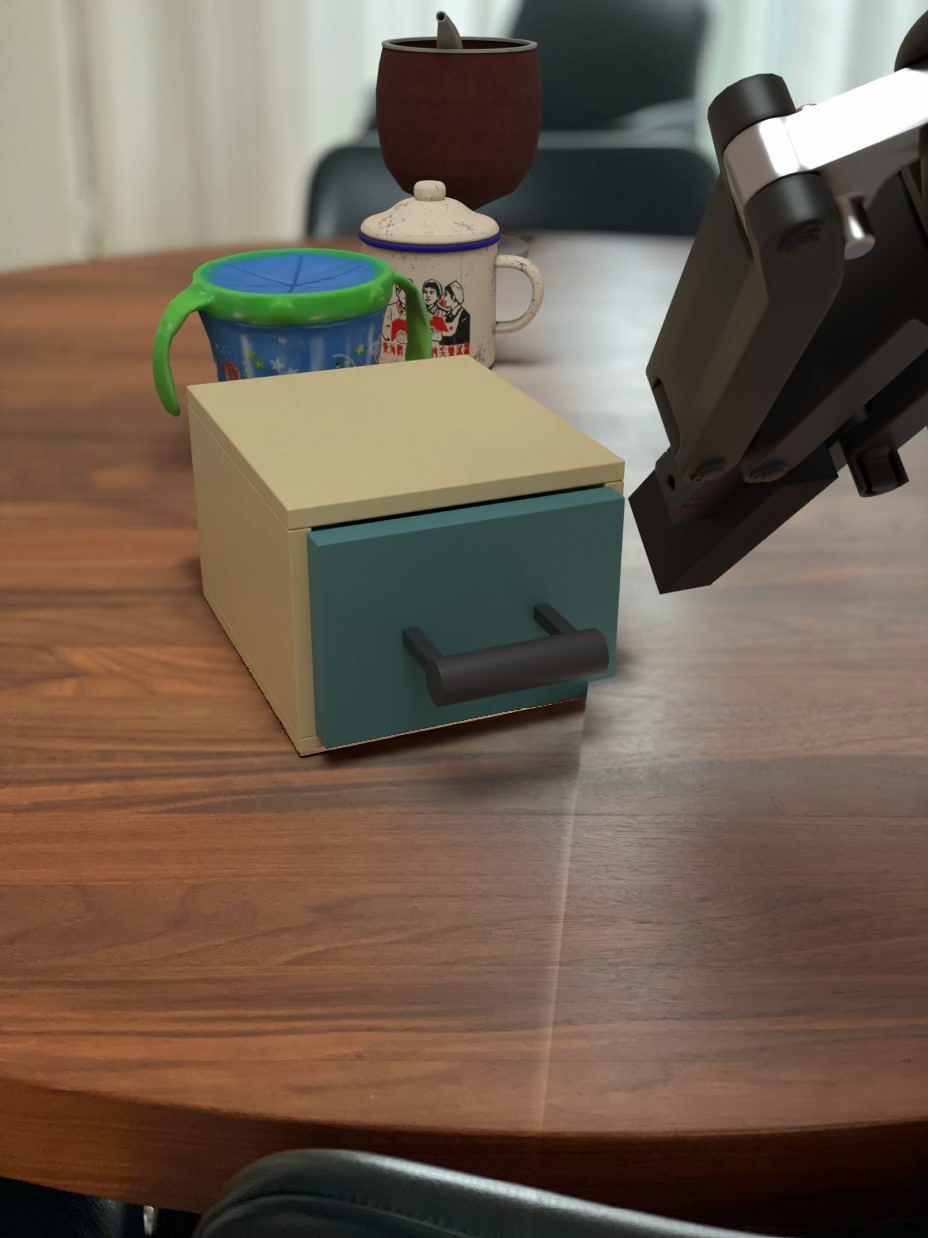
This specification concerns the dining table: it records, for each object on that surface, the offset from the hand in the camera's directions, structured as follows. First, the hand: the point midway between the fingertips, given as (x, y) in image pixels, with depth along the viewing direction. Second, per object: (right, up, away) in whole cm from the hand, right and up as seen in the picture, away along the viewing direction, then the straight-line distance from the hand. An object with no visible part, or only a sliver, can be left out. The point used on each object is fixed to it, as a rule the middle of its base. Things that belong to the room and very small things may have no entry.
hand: (669, 541), depth 37 cm
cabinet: (-8, -3, +23) cm, 24 cm away
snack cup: (-14, +7, +43) cm, 46 cm away
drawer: (-7, -4, +19) cm, 21 cm away
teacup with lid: (-6, +15, +59) cm, 61 cm away
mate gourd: (-6, +29, +88) cm, 93 cm away
